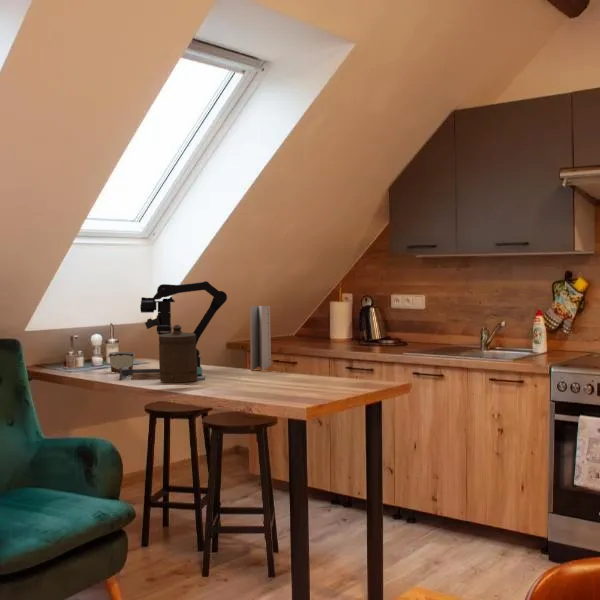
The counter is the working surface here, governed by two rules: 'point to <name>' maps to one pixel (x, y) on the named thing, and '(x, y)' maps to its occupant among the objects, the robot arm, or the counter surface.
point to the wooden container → (177, 356)
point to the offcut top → (146, 375)
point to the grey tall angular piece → (260, 337)
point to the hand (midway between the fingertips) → (164, 347)
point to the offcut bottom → (144, 378)
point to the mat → (200, 378)
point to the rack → (134, 371)
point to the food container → (121, 360)
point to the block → (199, 371)
